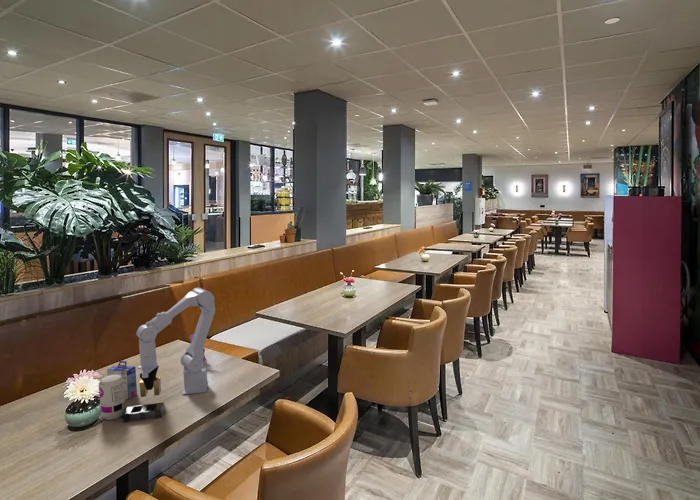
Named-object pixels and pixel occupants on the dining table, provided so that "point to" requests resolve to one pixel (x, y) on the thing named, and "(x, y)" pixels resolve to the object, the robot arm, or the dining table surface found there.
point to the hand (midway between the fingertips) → (150, 387)
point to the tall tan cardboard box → (155, 384)
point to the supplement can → (112, 396)
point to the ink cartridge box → (126, 377)
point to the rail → (143, 412)
